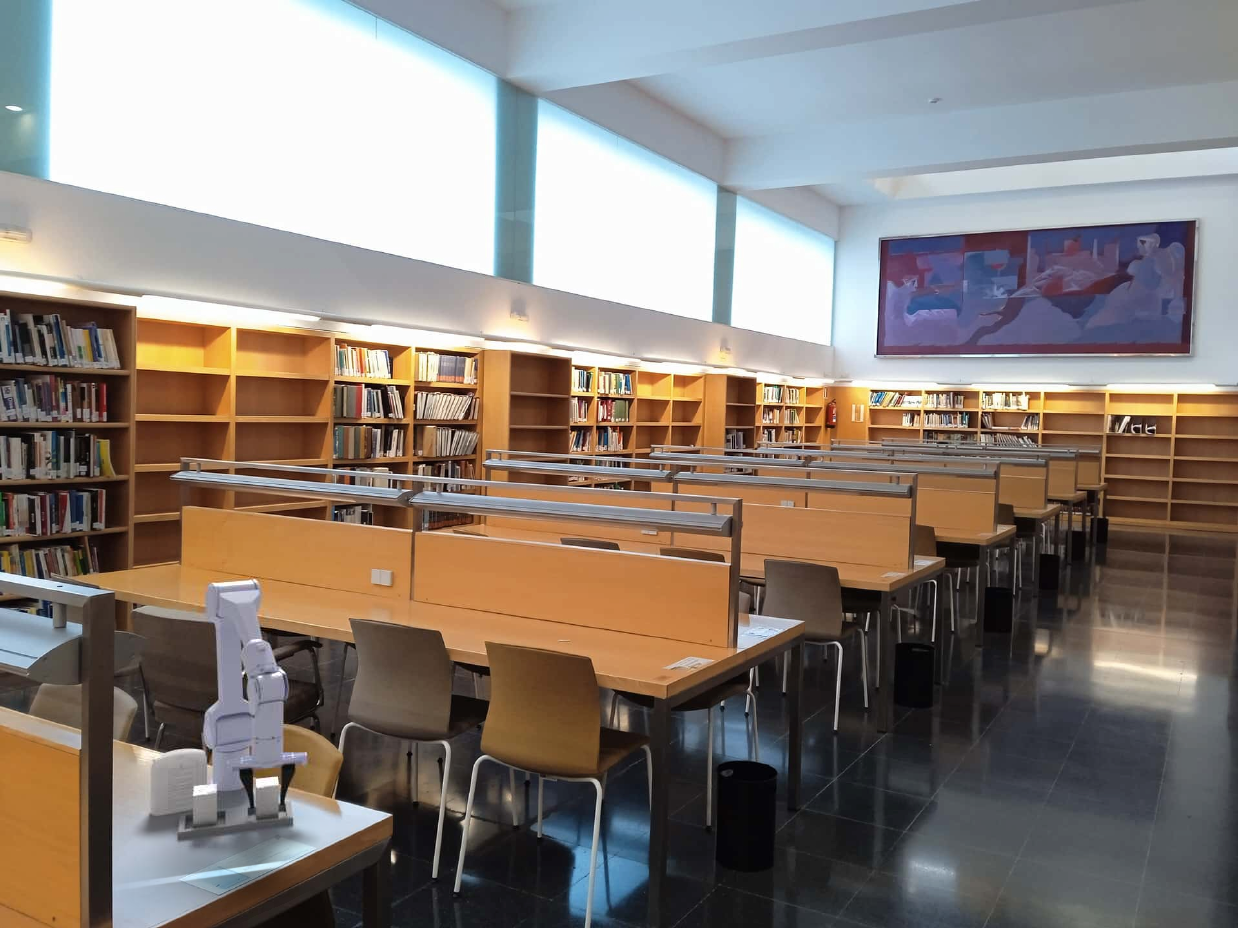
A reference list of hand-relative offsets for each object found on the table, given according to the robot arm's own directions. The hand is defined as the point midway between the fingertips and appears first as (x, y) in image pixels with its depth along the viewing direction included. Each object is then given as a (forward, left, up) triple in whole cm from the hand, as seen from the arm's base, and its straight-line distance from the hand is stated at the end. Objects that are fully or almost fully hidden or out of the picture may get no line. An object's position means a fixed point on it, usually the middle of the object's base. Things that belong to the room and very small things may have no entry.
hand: (267, 804), depth 187 cm
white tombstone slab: (-11, -16, -4) cm, 20 cm away
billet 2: (0, 0, -3) cm, 3 cm away
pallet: (0, -6, -3) cm, 6 cm away
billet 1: (0, -11, -3) cm, 11 cm away
